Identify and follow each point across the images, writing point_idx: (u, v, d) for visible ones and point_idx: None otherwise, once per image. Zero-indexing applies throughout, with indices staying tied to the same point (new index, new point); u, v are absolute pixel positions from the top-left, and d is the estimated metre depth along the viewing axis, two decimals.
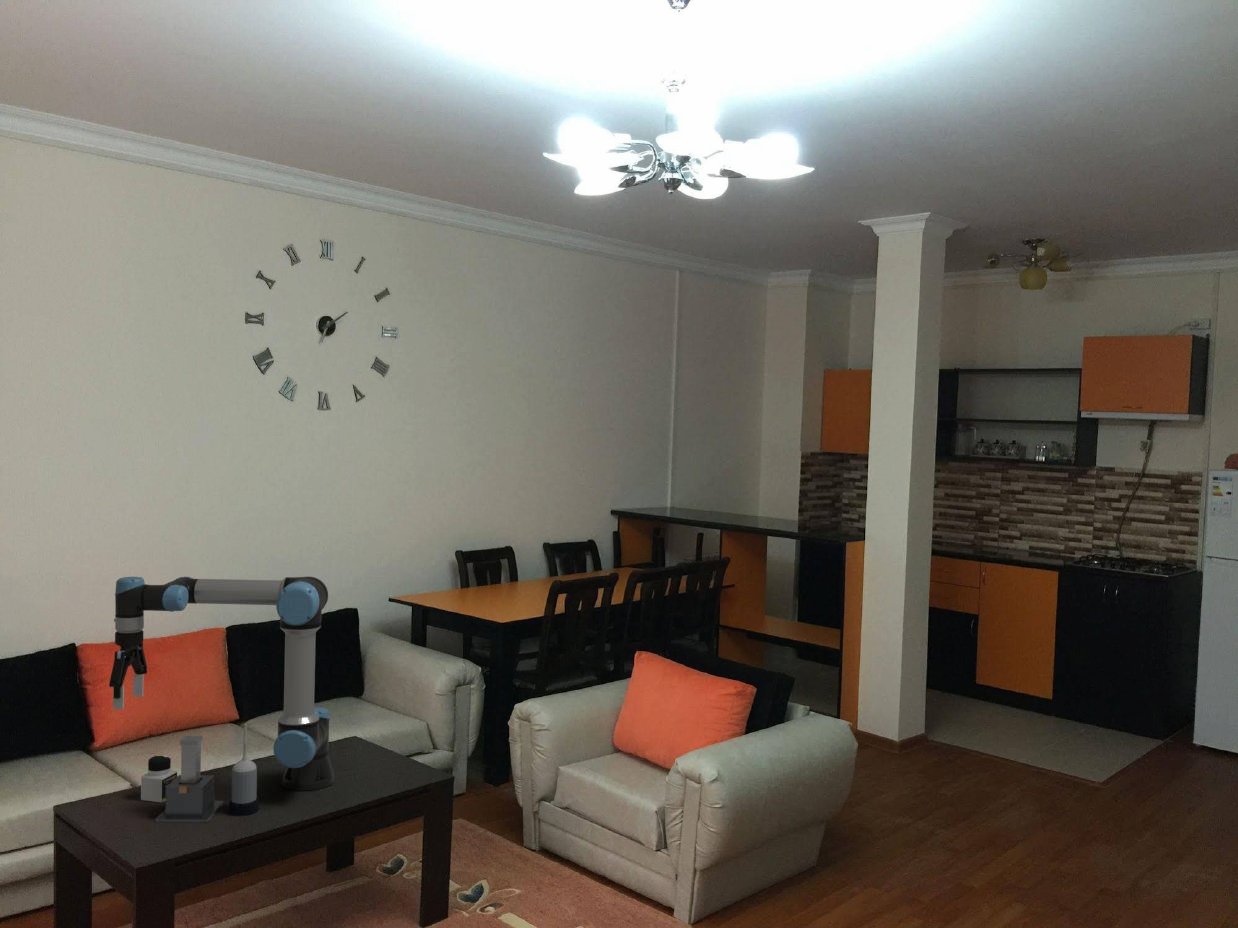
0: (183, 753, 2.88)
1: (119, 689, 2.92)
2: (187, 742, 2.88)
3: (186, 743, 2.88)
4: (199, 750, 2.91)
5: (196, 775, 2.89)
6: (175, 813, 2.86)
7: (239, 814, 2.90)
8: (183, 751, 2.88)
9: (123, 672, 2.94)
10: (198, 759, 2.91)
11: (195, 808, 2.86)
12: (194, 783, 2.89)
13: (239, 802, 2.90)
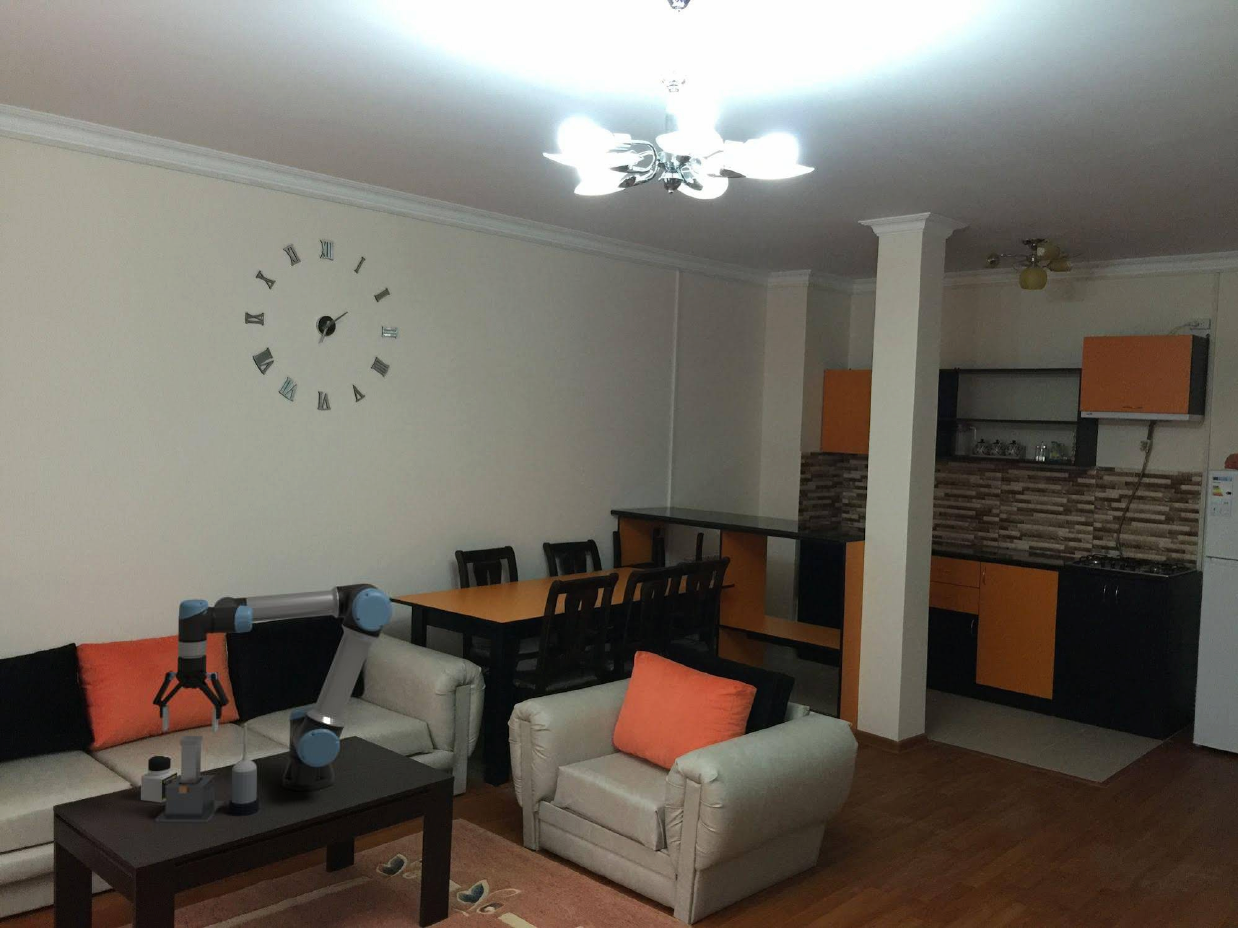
0: (183, 753, 2.88)
1: (161, 709, 2.89)
2: (187, 742, 2.88)
3: (186, 743, 2.88)
4: (199, 750, 2.91)
5: (196, 775, 2.89)
6: (175, 813, 2.86)
7: (239, 814, 2.90)
8: (183, 751, 2.88)
9: (168, 694, 2.88)
10: (198, 759, 2.91)
11: (195, 808, 2.86)
12: (194, 783, 2.89)
13: (239, 802, 2.90)
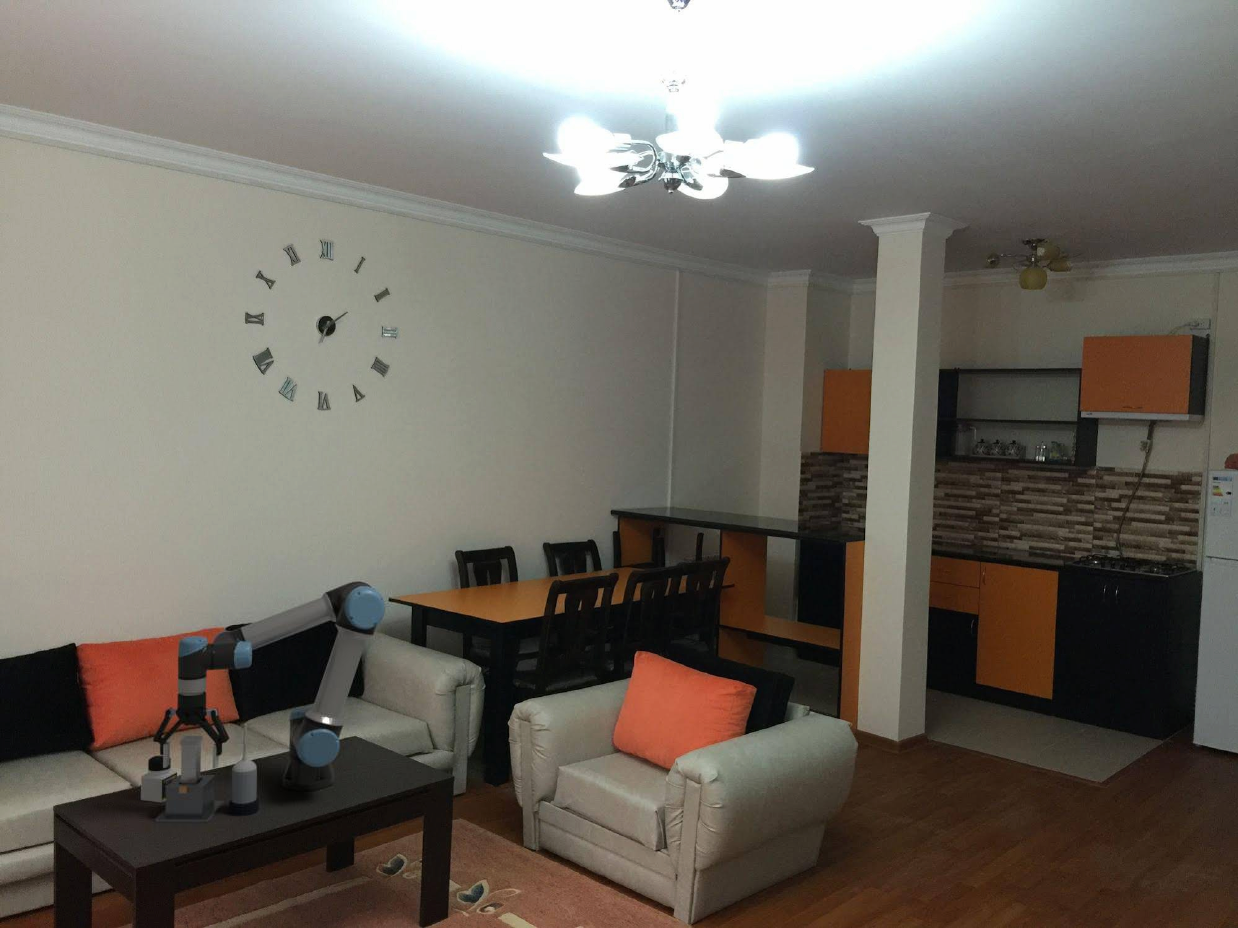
0: (183, 753, 2.88)
1: (161, 746, 2.89)
2: (187, 742, 2.88)
3: (186, 743, 2.88)
4: (199, 750, 2.91)
5: (196, 775, 2.89)
6: (175, 813, 2.86)
7: (239, 814, 2.90)
8: (183, 751, 2.88)
9: (169, 731, 2.89)
10: (198, 759, 2.91)
11: (195, 808, 2.86)
12: (194, 783, 2.89)
13: (239, 802, 2.90)
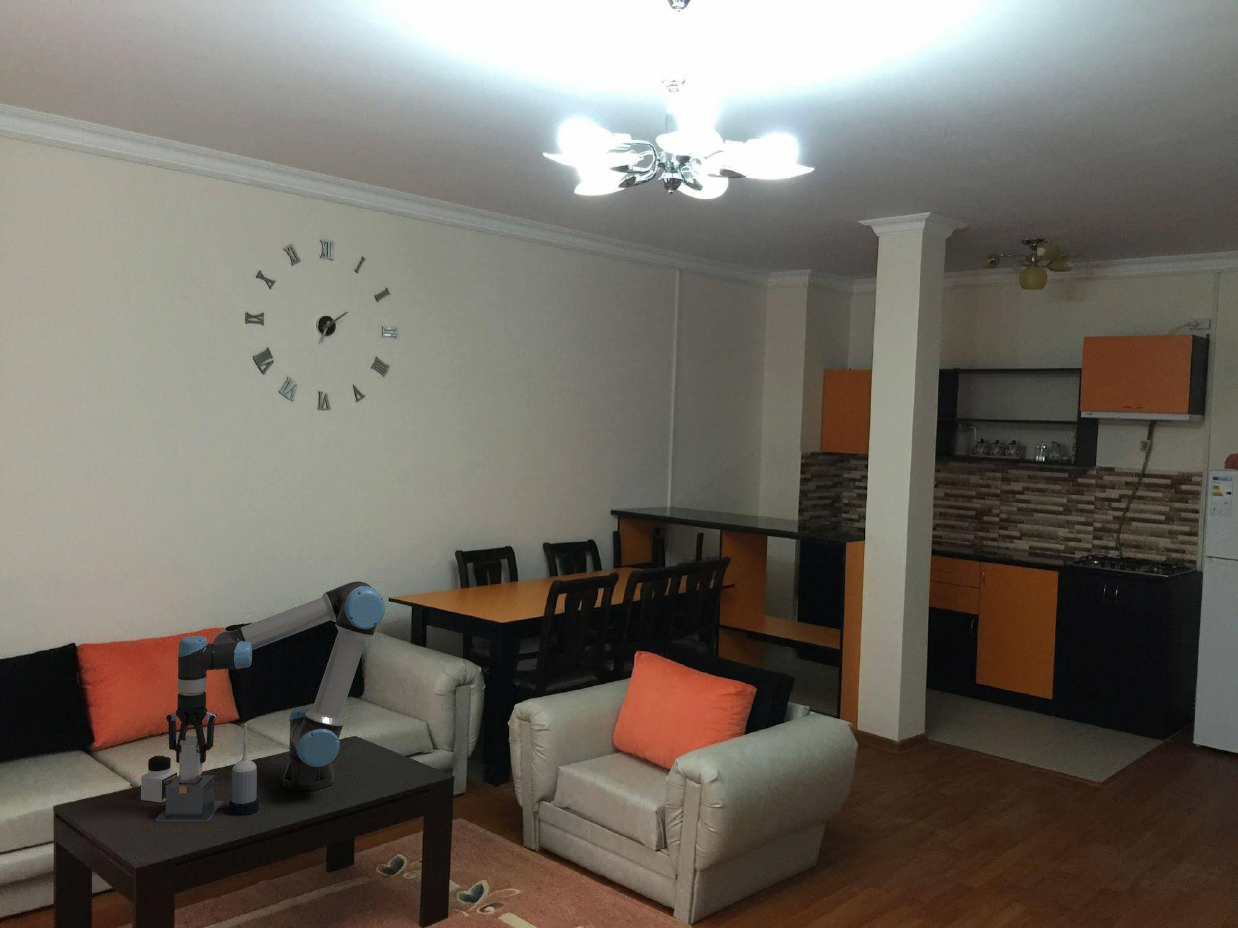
0: (183, 753, 2.88)
1: (177, 753, 2.90)
2: (187, 742, 2.88)
3: (186, 743, 2.88)
4: None
5: None
6: (175, 813, 2.86)
7: (239, 814, 2.90)
8: (183, 751, 2.88)
9: (178, 737, 2.89)
10: None
11: (195, 808, 2.86)
12: (194, 783, 2.89)
13: (239, 802, 2.90)
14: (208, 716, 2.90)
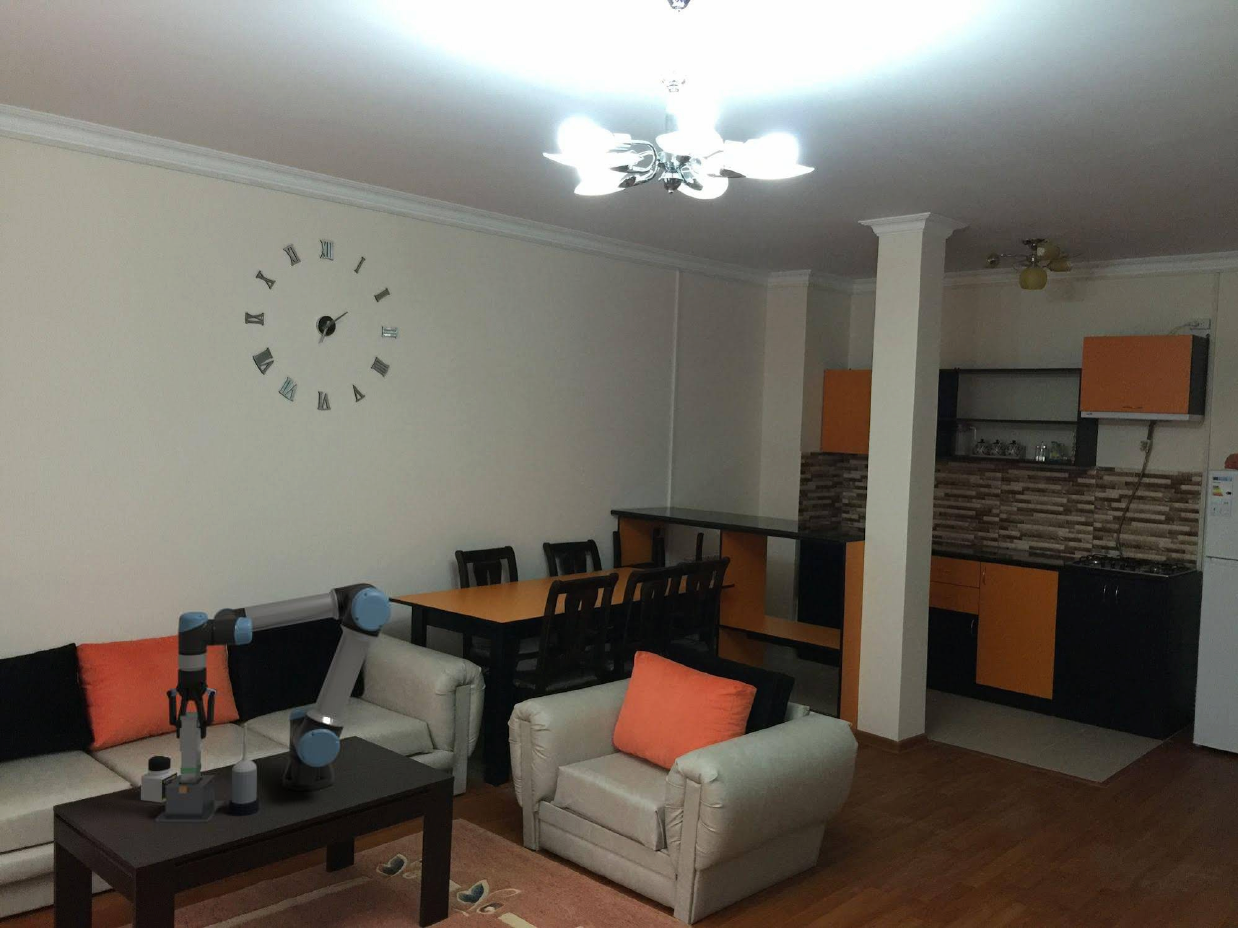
0: (183, 729, 2.88)
1: (178, 729, 2.89)
2: (187, 718, 2.88)
3: (186, 719, 2.88)
4: None
5: (196, 751, 2.89)
6: (175, 813, 2.86)
7: (239, 814, 2.90)
8: (183, 727, 2.88)
9: (179, 712, 2.89)
10: None
11: (195, 808, 2.86)
12: (194, 759, 2.89)
13: (239, 802, 2.90)
14: (208, 692, 2.90)
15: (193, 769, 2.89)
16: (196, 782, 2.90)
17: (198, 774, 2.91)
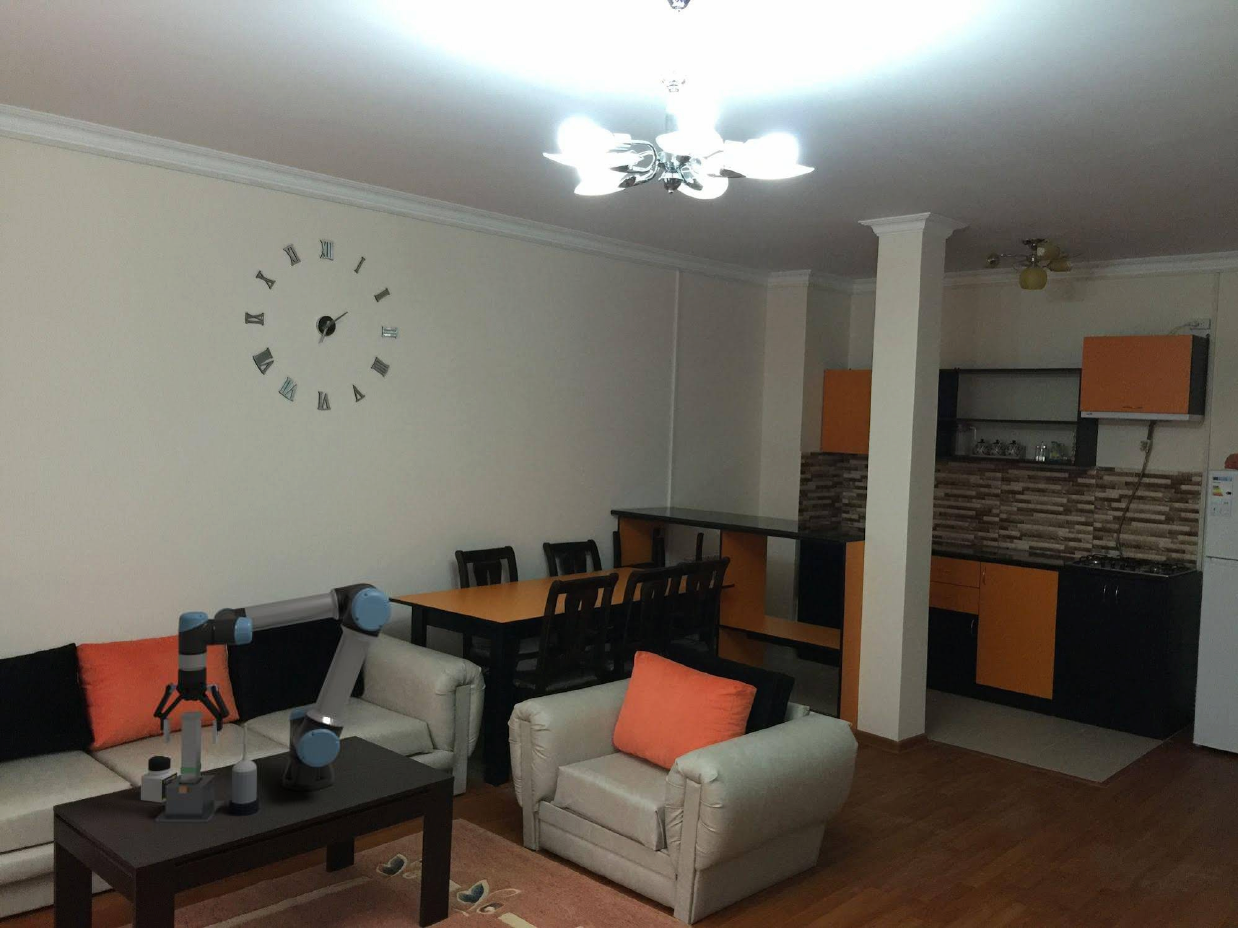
0: (183, 728, 2.88)
1: (162, 721, 2.89)
2: (187, 717, 2.88)
3: (186, 718, 2.88)
4: (199, 726, 2.91)
5: (196, 750, 2.89)
6: (175, 813, 2.86)
7: (239, 814, 2.90)
8: (183, 726, 2.88)
9: (169, 706, 2.89)
10: (198, 735, 2.91)
11: (195, 808, 2.86)
12: (194, 758, 2.89)
13: (239, 802, 2.90)
14: (209, 688, 2.90)
15: (193, 769, 2.89)
16: (196, 782, 2.90)
17: (198, 774, 2.91)
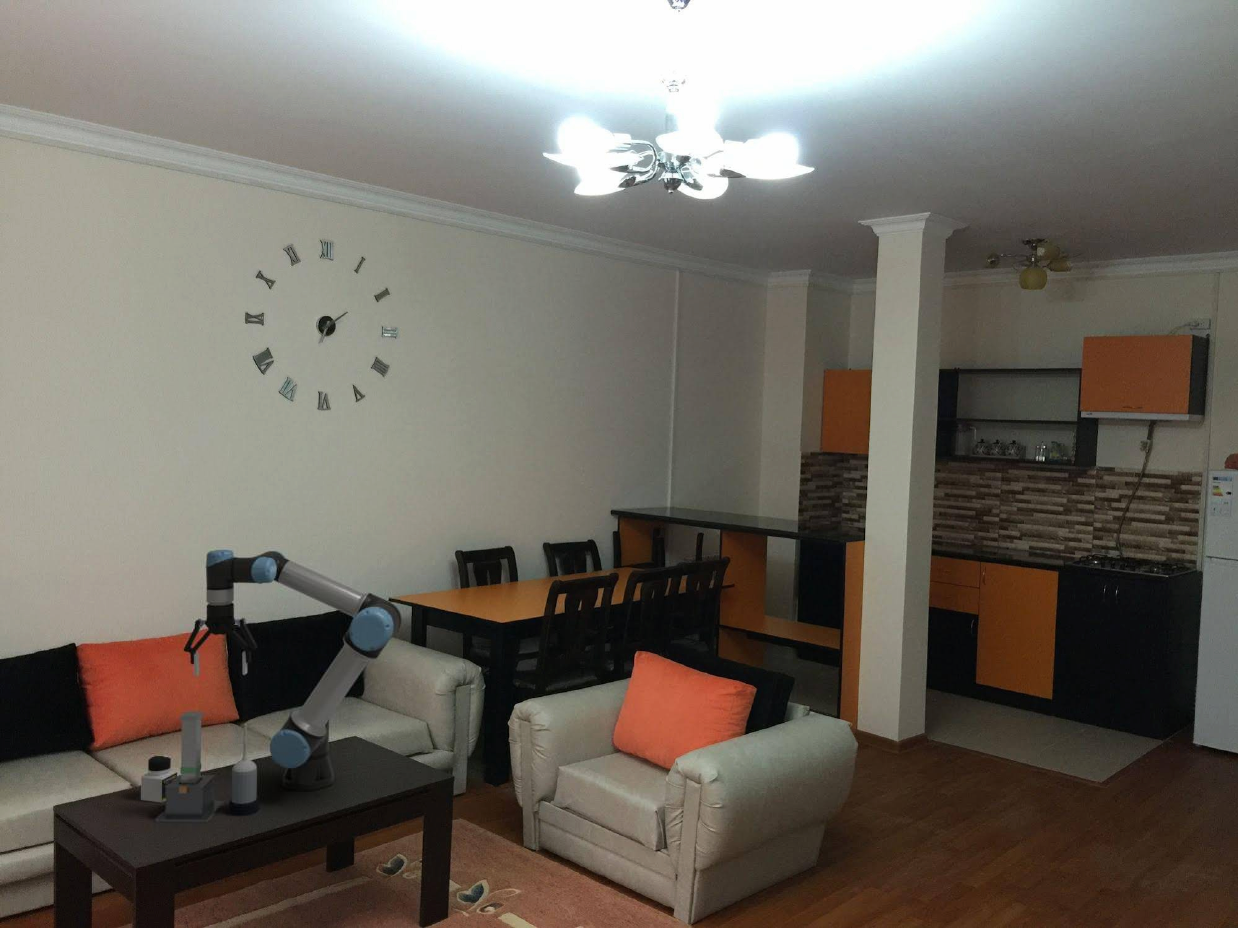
0: (183, 728, 2.88)
1: (192, 655, 3.01)
2: (187, 717, 2.88)
3: (186, 718, 2.88)
4: (199, 726, 2.91)
5: (196, 750, 2.89)
6: (175, 813, 2.86)
7: (239, 814, 2.90)
8: (183, 726, 2.88)
9: (199, 640, 3.01)
10: (198, 735, 2.91)
11: (195, 808, 2.86)
12: (194, 758, 2.89)
13: (239, 802, 2.90)
14: (238, 622, 3.03)
15: (193, 769, 2.89)
16: (196, 782, 2.90)
17: (198, 774, 2.91)
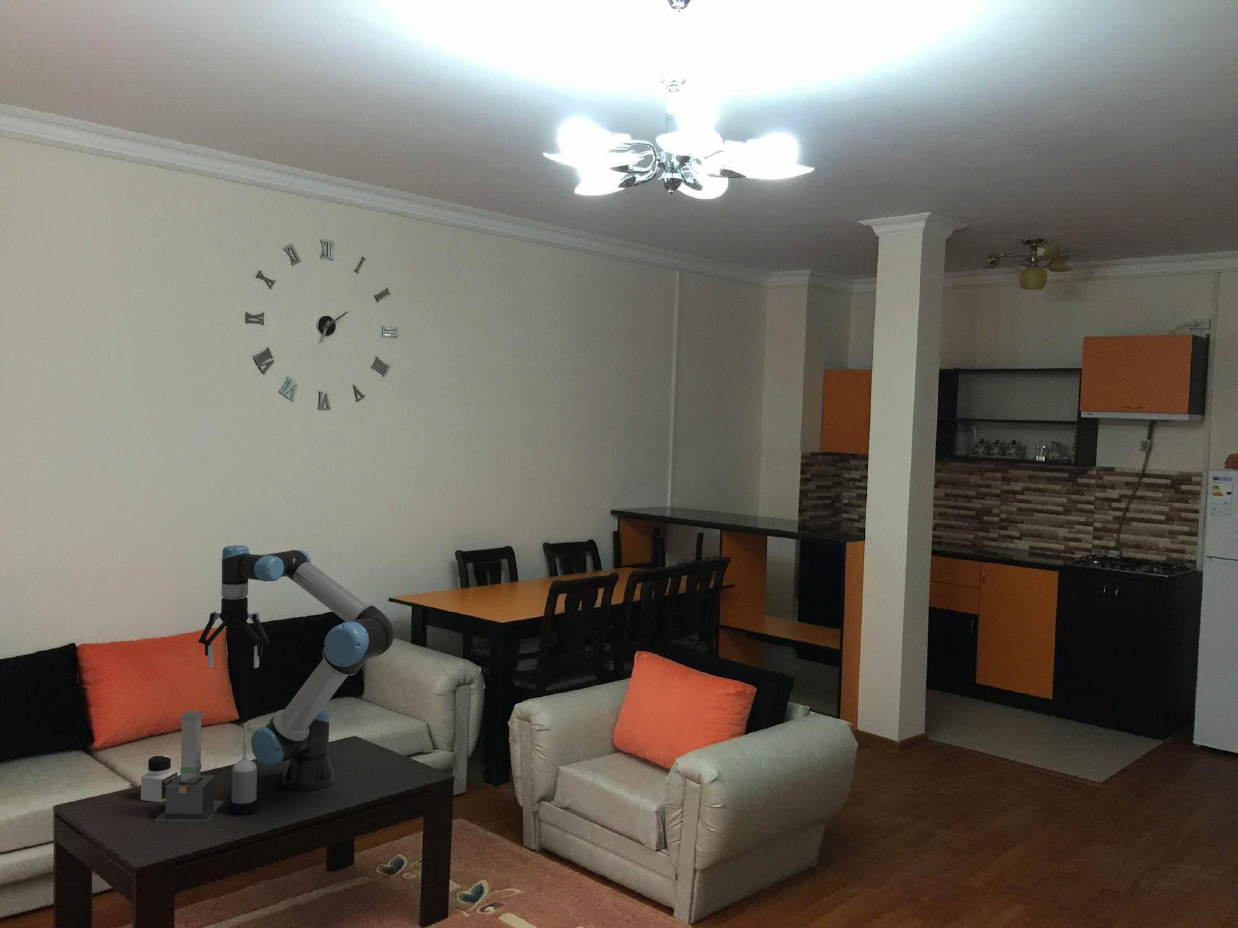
0: (183, 728, 2.88)
1: (206, 647, 3.10)
2: (187, 717, 2.88)
3: (186, 718, 2.88)
4: (199, 726, 2.91)
5: (196, 750, 2.89)
6: (175, 813, 2.86)
7: (239, 814, 2.90)
8: (183, 726, 2.88)
9: (213, 633, 3.09)
10: (198, 735, 2.91)
11: (195, 808, 2.86)
12: (194, 758, 2.89)
13: (239, 802, 2.90)
14: (251, 616, 3.10)
15: (193, 769, 2.89)
16: (196, 782, 2.90)
17: (198, 774, 2.91)
